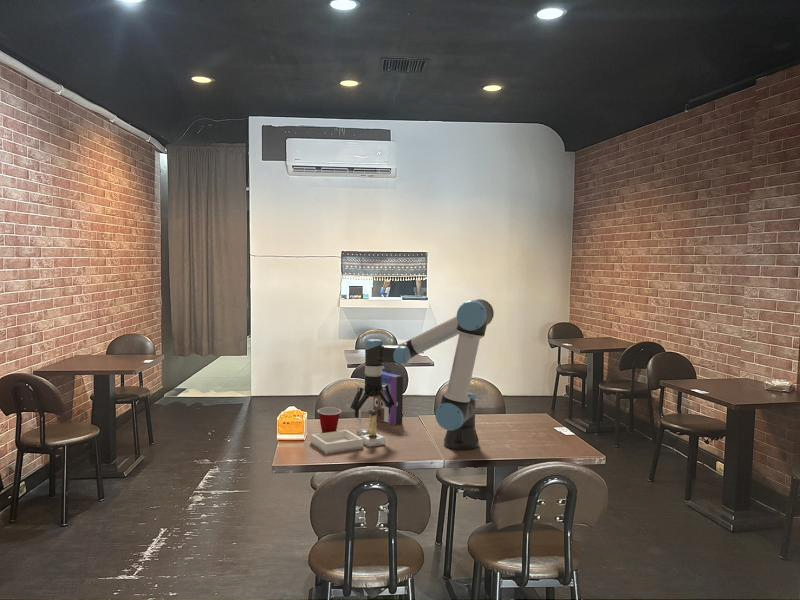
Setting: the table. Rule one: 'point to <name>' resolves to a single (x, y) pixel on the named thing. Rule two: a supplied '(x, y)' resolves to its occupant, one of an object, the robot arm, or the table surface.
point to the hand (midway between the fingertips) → (372, 423)
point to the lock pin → (372, 423)
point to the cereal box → (397, 395)
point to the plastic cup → (329, 418)
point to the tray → (336, 441)
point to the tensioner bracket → (370, 441)
